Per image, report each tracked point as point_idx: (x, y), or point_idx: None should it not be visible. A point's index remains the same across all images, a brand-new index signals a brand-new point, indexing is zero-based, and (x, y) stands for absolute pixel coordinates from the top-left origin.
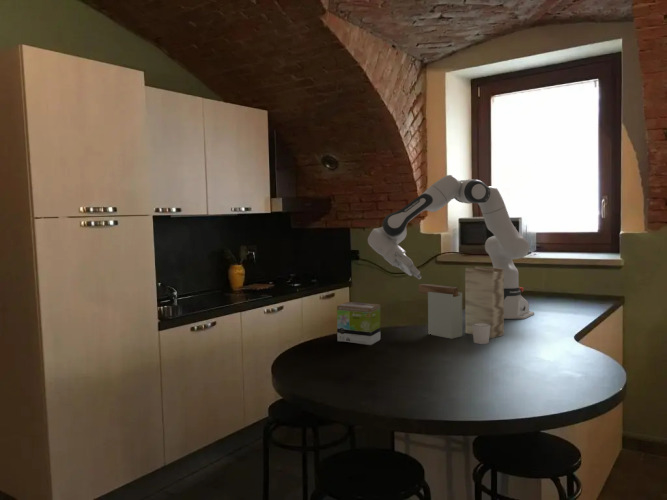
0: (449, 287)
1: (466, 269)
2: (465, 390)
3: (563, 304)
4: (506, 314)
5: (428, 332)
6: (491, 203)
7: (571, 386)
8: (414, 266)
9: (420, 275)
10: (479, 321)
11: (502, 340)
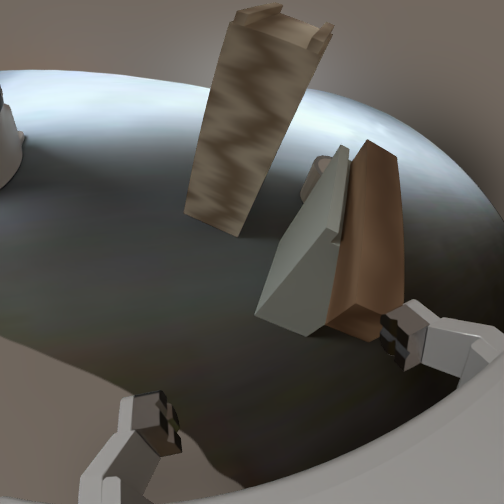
0: (386, 164)
1: (321, 47)
2: (477, 216)
3: None
4: (15, 154)
5: (309, 334)
6: None
7: (412, 140)
8: (486, 329)
9: (161, 400)
10: (265, 176)
11: (276, 164)
